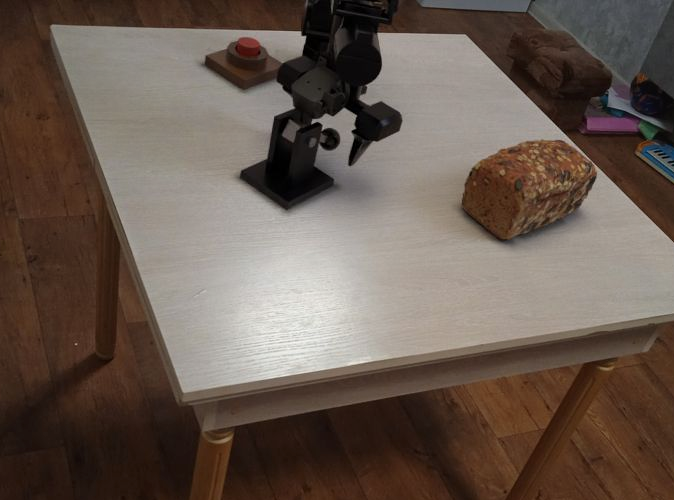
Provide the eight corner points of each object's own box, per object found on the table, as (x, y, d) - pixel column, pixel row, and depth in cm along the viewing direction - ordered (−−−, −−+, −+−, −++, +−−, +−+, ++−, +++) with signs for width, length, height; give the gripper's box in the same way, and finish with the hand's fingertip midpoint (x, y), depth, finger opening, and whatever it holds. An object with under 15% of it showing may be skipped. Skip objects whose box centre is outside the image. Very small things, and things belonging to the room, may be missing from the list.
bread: (504, 247, 117) (530, 188, 110) (452, 205, 121) (473, 146, 115) (582, 214, 127) (610, 158, 120) (532, 177, 132) (555, 121, 125)
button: (247, 45, 137) (248, 35, 136) (263, 54, 136) (264, 44, 134) (231, 49, 135) (233, 39, 133) (247, 59, 133) (249, 49, 132)
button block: (246, 51, 142) (249, 31, 140) (285, 74, 139) (288, 55, 137) (204, 64, 136) (206, 44, 133) (243, 89, 133) (246, 69, 130)
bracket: (287, 155, 122) (298, 95, 115) (333, 185, 119) (347, 125, 112) (239, 177, 115) (248, 114, 109) (286, 209, 112) (298, 147, 105)
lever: (321, 145, 122) (331, 125, 121) (338, 155, 121) (348, 135, 120) (277, 136, 111) (287, 114, 110) (294, 147, 110) (305, 125, 109)
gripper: (257, 31, 108) (242, 135, 119) (366, 96, 101) (340, 200, 112) (312, 14, 115) (294, 114, 126) (417, 74, 108) (388, 174, 119)
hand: (327, 150), depth 121 cm, fingers open, 9 cm apart
